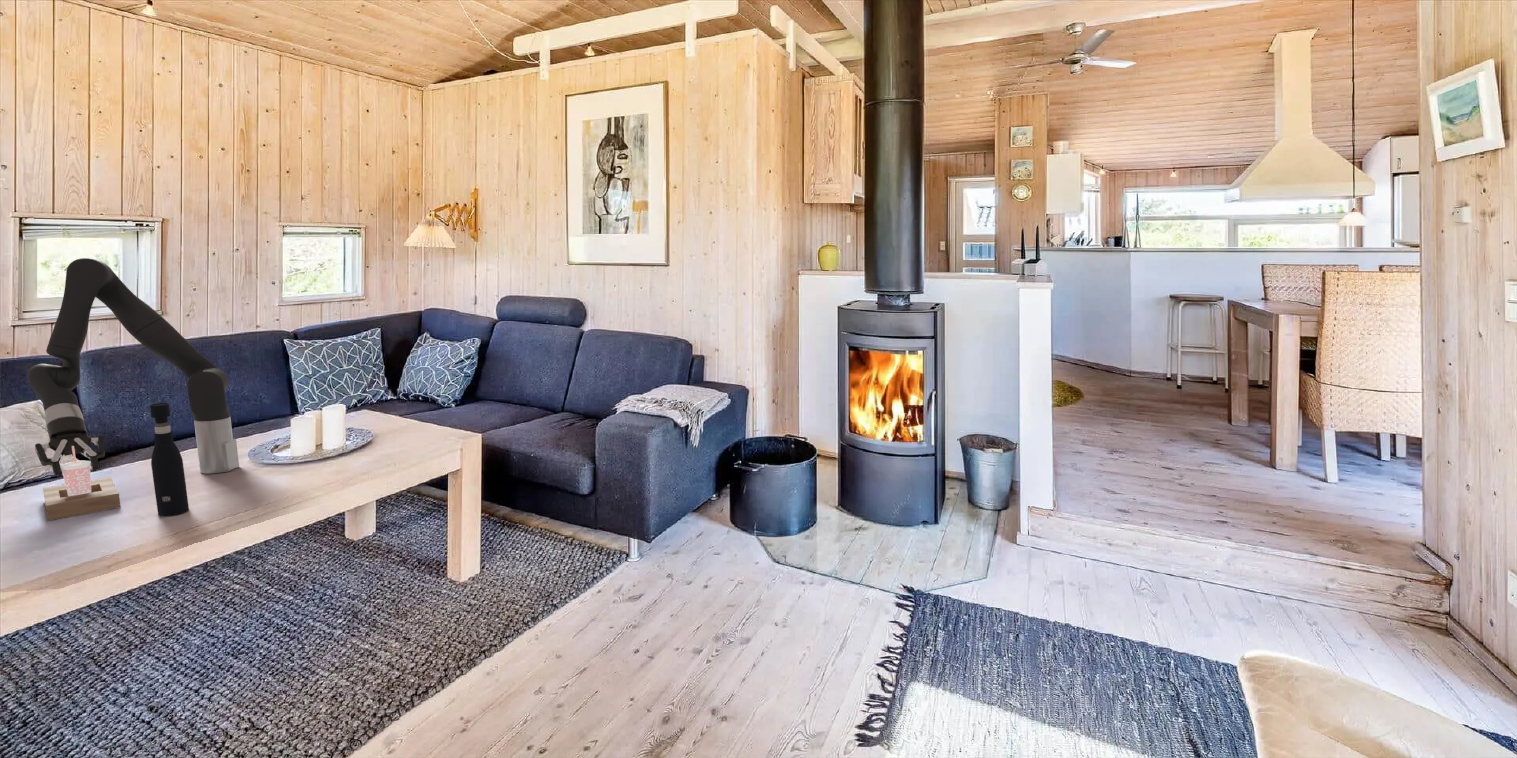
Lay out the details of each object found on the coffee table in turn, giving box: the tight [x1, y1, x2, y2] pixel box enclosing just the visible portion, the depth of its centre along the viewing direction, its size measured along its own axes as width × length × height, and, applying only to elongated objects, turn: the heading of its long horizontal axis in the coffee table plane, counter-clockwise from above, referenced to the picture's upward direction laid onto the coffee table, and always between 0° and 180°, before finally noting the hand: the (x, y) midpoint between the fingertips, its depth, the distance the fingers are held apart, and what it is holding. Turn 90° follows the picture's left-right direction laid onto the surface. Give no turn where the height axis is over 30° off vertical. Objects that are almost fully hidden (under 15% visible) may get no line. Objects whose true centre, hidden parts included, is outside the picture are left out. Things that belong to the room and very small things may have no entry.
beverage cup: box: [60, 446, 92, 496], centre depth 188 cm, size 6×6×14 cm
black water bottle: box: [149, 402, 190, 518], centre depth 183 cm, size 6×6×30 cm
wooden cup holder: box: [42, 476, 122, 521], centre depth 189 cm, size 20×14×4 cm
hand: (77, 472), depth 187 cm, fingers closed on beverage cup, 6 cm apart
